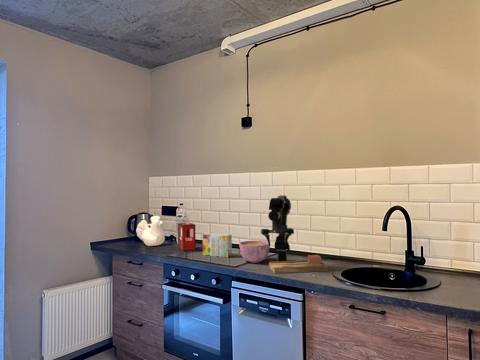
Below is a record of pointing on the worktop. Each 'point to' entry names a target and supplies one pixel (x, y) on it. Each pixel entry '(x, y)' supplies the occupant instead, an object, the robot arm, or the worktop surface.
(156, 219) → the decorative rooster
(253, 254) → the bowl of food
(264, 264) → the worktop surface
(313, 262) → the block
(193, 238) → the cleaning product box
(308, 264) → the box
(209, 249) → the snack box
